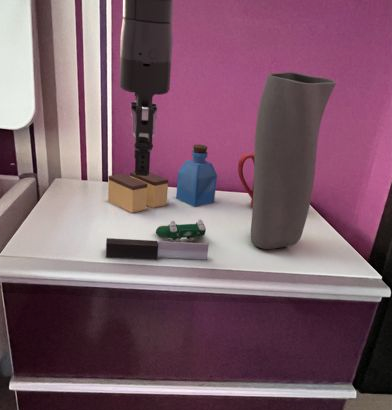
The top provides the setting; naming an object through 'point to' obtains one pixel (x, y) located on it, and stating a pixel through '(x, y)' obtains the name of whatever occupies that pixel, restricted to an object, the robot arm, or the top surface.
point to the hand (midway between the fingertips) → (141, 167)
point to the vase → (286, 156)
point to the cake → (137, 191)
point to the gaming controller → (182, 231)
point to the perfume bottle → (197, 179)
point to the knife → (155, 249)
